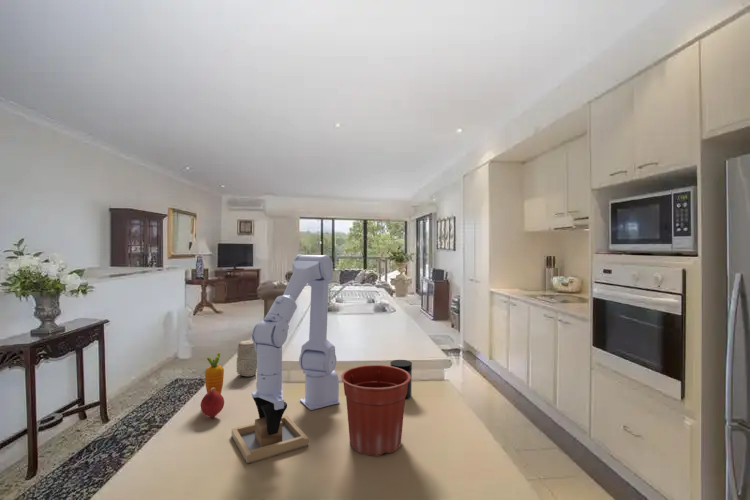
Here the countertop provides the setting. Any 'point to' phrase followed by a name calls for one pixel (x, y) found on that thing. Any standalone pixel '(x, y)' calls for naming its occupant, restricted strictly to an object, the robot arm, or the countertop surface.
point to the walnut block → (266, 433)
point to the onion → (212, 403)
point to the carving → (246, 358)
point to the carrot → (214, 375)
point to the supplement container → (407, 367)
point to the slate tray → (253, 451)
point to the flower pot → (375, 407)
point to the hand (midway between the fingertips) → (269, 428)
